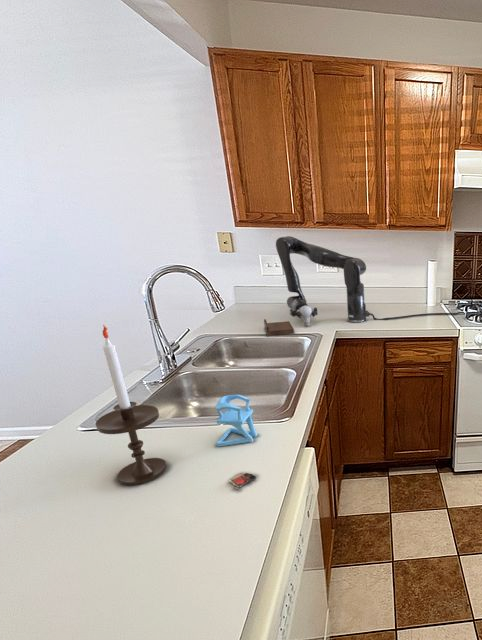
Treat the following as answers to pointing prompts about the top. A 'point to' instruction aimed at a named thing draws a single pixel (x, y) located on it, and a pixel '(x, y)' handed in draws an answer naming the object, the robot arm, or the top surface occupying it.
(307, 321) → the lightbulb
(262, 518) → the top surface
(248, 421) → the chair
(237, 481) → the matchbox
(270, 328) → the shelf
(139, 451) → the candlestick
